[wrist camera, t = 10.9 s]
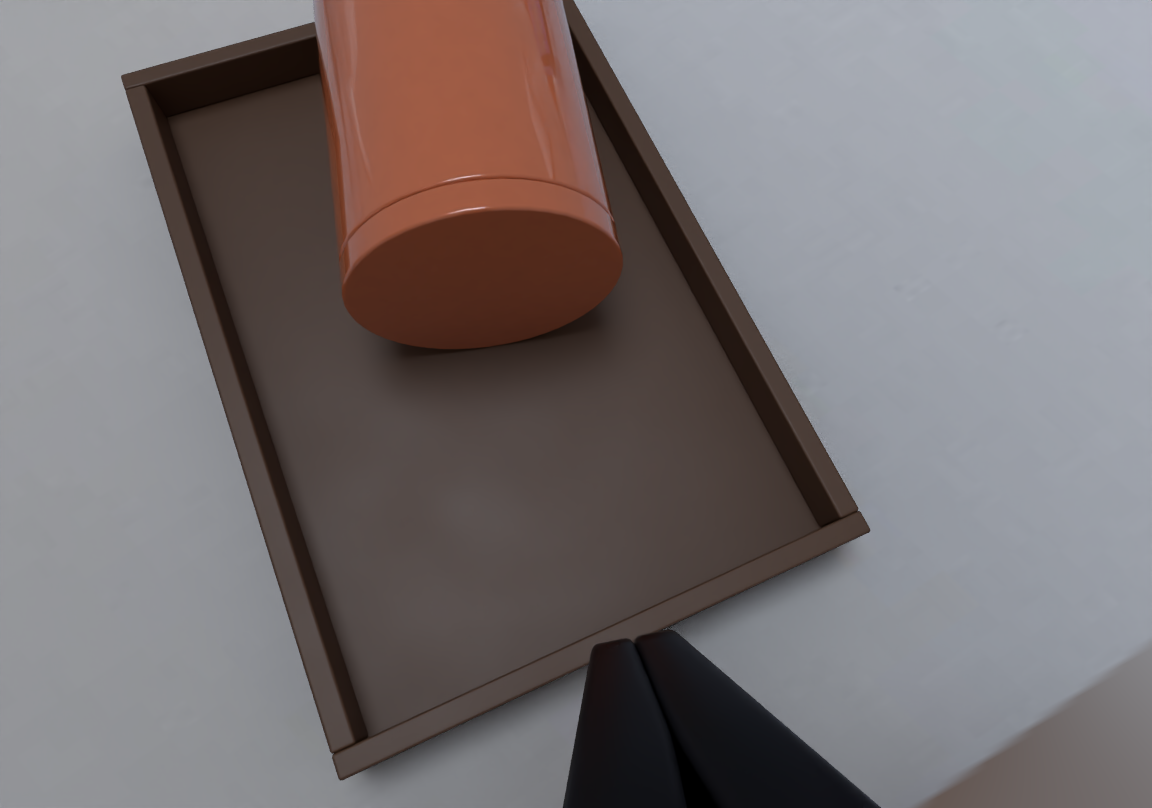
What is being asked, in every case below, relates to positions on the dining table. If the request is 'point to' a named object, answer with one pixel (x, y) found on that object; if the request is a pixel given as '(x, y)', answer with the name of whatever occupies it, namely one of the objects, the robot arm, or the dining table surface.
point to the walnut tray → (473, 419)
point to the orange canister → (462, 170)
